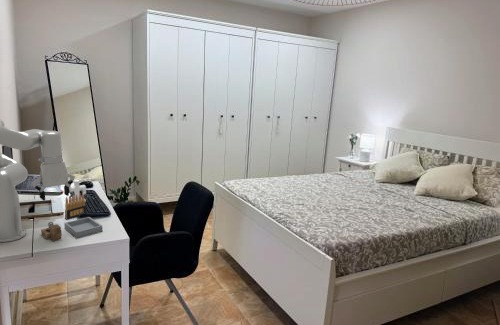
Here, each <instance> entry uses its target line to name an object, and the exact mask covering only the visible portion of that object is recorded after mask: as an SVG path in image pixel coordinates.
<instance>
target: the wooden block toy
mask: <svg viewBox="0 0 500 325" xmlns="http://www.w3.org/2000/svg"><path fill="white" fill-rule="evenodd" d="M40 233H41V236H42V237H43V238H44V239H46V240H49V239H50V240H51V241H52V242H57V241H61V240H62V235H63V234H62V233H63V232H62V227H61V226H60V225H59V224H53V225H52V226H50V232H49V227H45V228H41V229H40Z"/></svg>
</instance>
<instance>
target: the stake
mask: <svg viewBox="0 0 500 325" xmlns="http://www.w3.org/2000/svg"><path fill="white" fill-rule="evenodd" d="M47 224H48V228H49V232H50V226H52V225H54V222H53V221H50V222H48V223H47Z"/></svg>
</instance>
